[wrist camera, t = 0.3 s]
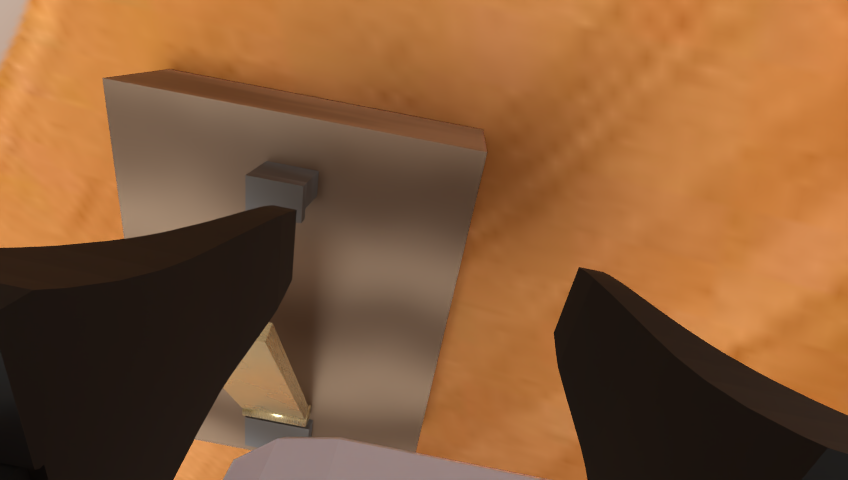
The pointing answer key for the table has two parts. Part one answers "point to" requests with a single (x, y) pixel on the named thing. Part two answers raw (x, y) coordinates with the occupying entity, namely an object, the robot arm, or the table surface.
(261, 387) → the hasp
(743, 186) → the table surface
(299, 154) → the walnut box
